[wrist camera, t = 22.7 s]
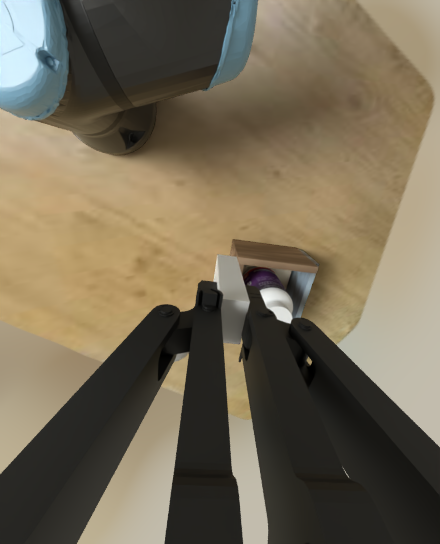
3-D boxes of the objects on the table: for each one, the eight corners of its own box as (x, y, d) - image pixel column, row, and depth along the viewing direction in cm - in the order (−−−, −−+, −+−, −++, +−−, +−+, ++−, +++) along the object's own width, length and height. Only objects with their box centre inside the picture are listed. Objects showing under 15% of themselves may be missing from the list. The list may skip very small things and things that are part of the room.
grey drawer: (240, 241, 46) (245, 254, 39) (307, 250, 48) (325, 265, 40) (228, 304, 53) (231, 326, 45) (288, 310, 54) (300, 333, 46)
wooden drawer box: (232, 239, 46) (238, 257, 36) (296, 247, 48) (318, 267, 38) (221, 303, 53) (223, 334, 43) (278, 309, 54) (292, 340, 44)
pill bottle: (239, 265, 47) (250, 300, 34) (277, 262, 47) (302, 297, 34) (240, 298, 50) (250, 342, 37) (275, 295, 50) (297, 339, 37)
